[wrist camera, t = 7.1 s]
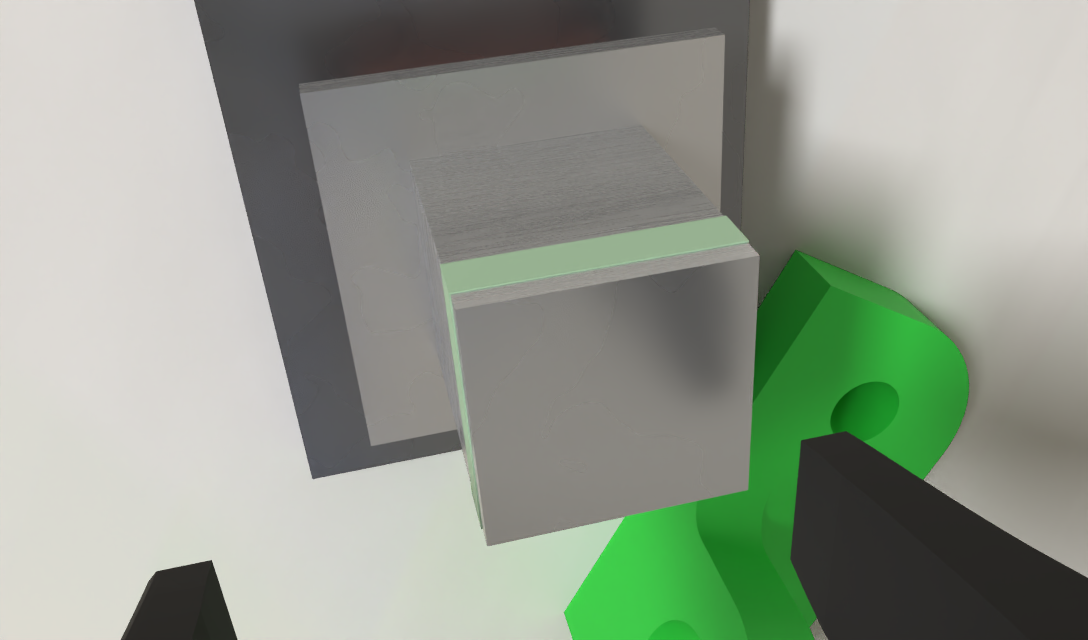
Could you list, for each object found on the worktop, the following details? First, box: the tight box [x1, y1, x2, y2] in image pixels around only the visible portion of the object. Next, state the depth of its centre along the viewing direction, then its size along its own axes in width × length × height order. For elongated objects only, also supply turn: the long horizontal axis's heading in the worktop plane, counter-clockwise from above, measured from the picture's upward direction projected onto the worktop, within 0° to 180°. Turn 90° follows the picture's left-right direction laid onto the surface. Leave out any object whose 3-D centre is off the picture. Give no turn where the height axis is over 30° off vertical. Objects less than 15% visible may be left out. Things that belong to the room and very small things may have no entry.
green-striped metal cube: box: [409, 125, 760, 546], centre depth 16 cm, size 4×4×5 cm
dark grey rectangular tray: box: [194, 0, 750, 479], centre depth 19 cm, size 12×10×4 cm
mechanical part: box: [564, 250, 969, 640], centre depth 24 cm, size 12×6×8 cm, turn 153°
